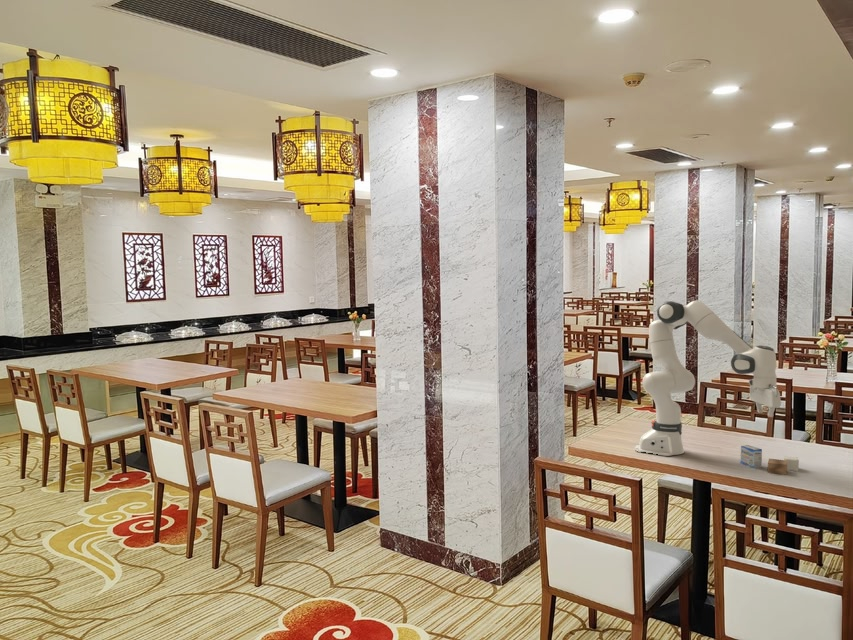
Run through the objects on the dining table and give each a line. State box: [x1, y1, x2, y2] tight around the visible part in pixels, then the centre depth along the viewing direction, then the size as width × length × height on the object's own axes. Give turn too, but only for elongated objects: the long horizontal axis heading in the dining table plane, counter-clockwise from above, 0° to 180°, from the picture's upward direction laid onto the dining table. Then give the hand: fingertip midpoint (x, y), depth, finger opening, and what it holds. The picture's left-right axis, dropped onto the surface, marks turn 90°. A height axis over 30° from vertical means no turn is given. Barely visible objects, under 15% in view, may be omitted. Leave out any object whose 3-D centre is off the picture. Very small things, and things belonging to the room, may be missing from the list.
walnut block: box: [767, 458, 788, 476], centre depth 286 cm, size 7×7×5 cm
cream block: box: [783, 455, 800, 472], centre depth 291 cm, size 5×5×5 cm
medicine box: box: [740, 444, 763, 469], centre depth 296 cm, size 8×4×9 cm, turn 19°
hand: (765, 414), depth 290 cm, fingers open, 8 cm apart
